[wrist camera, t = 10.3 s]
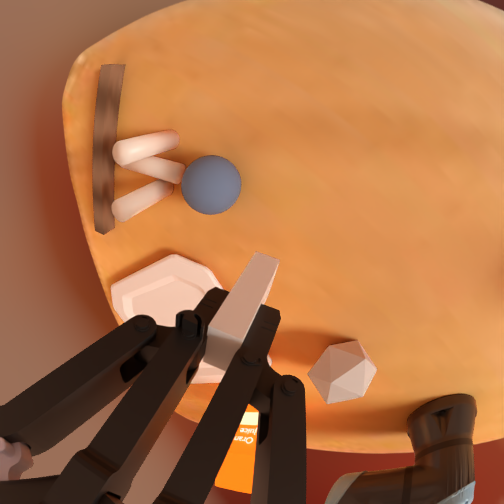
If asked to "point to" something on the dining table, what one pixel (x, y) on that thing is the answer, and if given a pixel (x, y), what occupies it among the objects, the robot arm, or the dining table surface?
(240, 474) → the orange juice
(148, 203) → the pin
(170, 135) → the pin
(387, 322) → the dining table surface
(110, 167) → the board
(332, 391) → the die
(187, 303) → the plate
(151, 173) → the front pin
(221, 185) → the ball
